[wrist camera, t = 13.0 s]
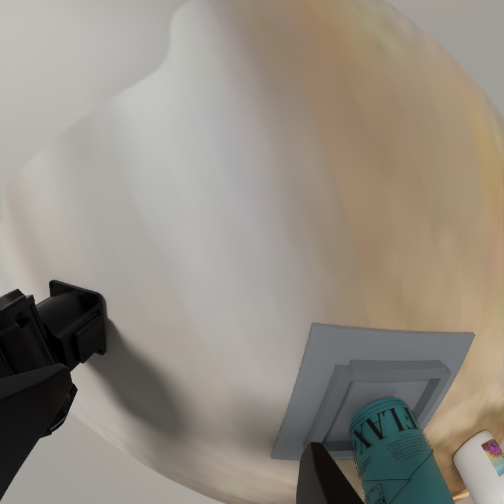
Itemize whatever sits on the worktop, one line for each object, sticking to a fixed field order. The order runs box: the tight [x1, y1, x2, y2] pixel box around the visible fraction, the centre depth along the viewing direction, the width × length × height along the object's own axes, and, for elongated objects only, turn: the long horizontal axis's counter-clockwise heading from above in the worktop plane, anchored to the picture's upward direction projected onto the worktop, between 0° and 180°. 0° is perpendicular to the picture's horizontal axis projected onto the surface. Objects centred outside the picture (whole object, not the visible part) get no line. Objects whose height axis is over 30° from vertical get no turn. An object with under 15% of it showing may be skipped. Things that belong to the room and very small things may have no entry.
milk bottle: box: [453, 430, 504, 504], centre depth 15 cm, size 8×8×20 cm
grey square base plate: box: [271, 323, 475, 460], centre depth 21 cm, size 18×18×2 cm
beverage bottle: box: [348, 397, 455, 504], centre depth 12 cm, size 6×7×20 cm
